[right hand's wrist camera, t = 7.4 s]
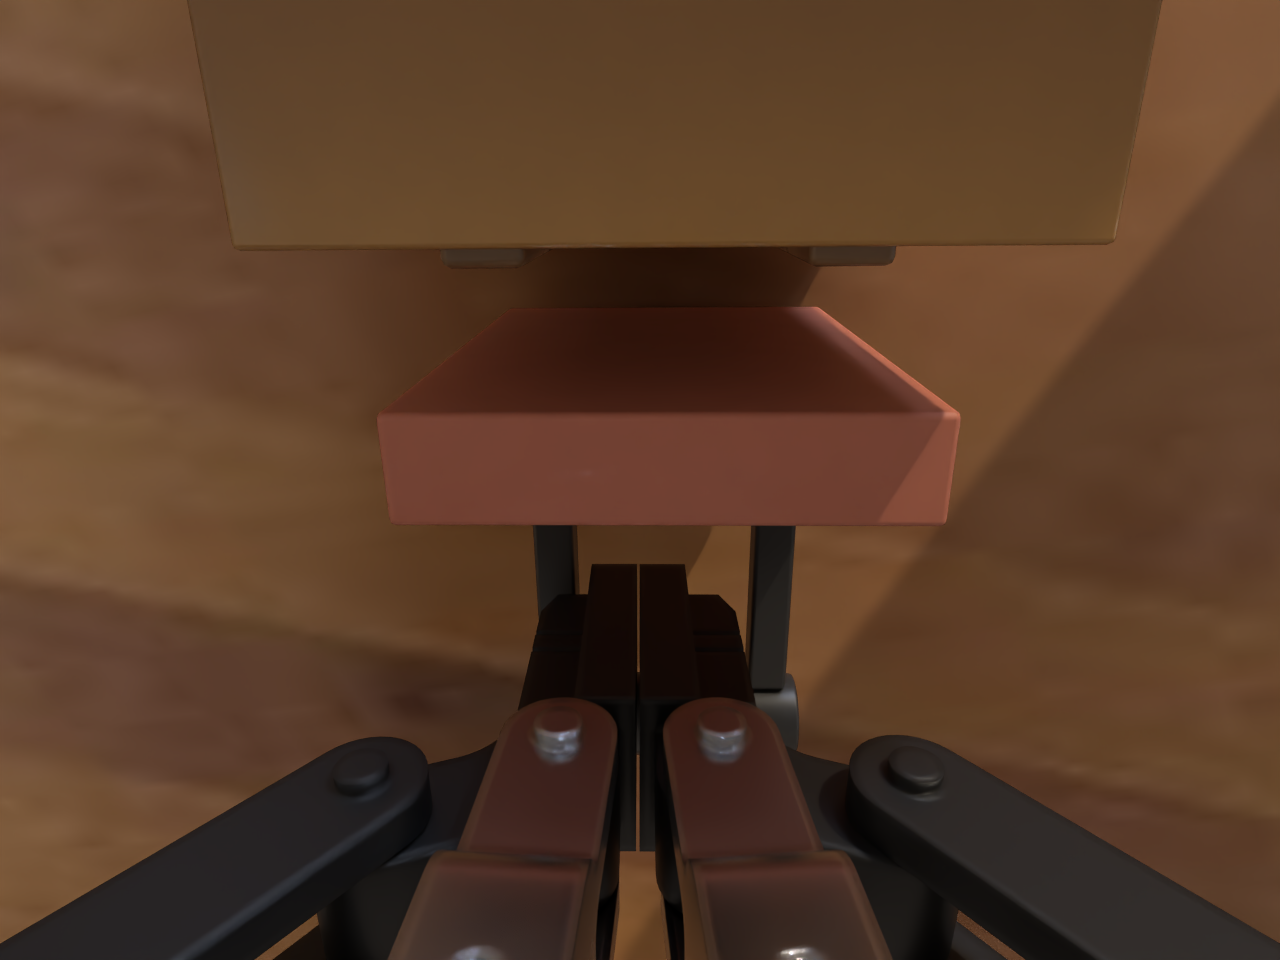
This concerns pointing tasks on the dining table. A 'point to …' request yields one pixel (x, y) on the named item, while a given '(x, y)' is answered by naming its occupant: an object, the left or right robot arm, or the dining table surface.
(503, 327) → the drawer
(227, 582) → the dining table surface
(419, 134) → the cabinet
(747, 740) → the right robot arm
